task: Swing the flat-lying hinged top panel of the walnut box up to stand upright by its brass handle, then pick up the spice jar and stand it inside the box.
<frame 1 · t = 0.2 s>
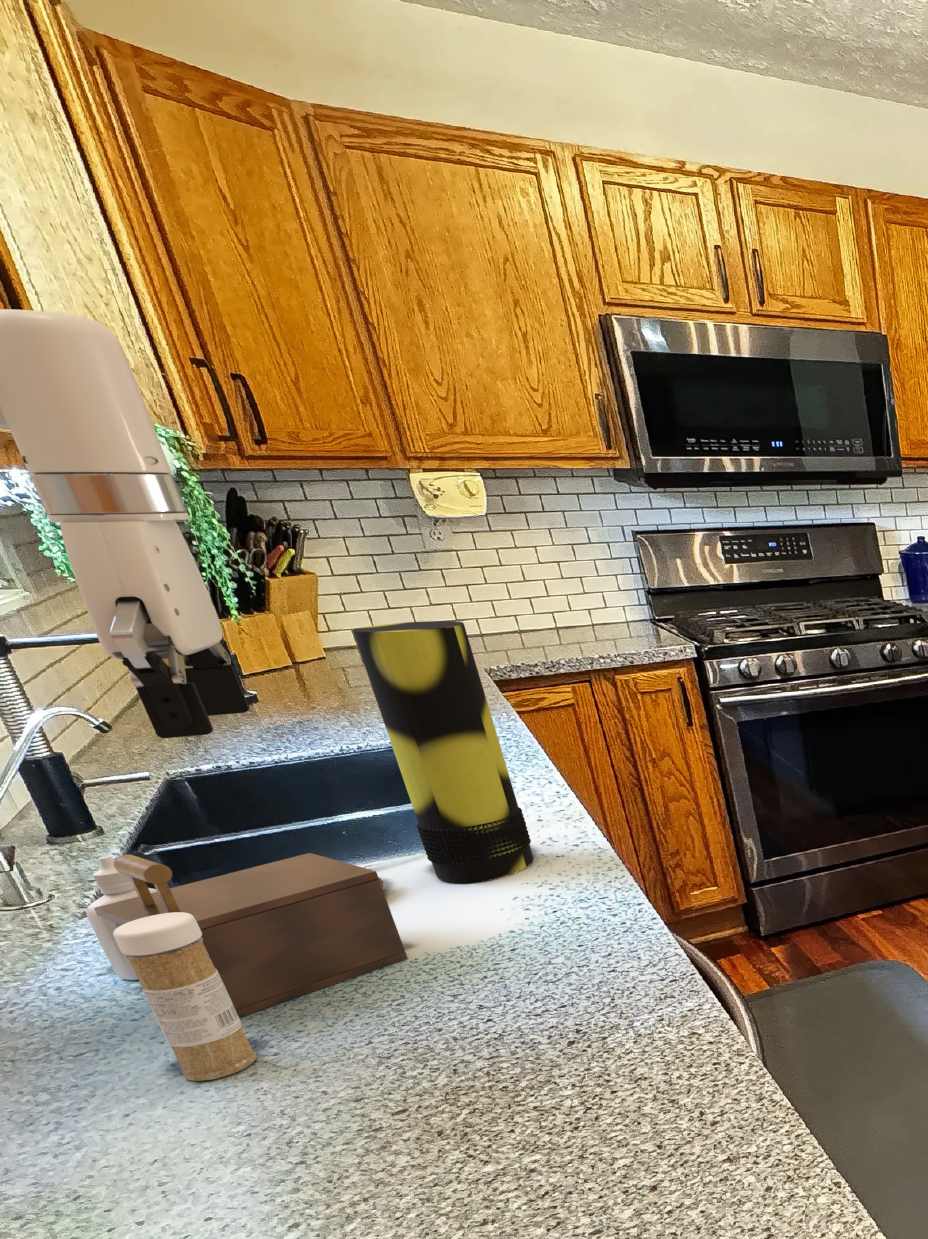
hand: (207, 724, 82), 27 cm above the countertop, tool pointing down, fingers open, 9 cm apart
lid: (332, 906, 115), on the countertop
eye dropper bottle: (158, 970, 100), on the countertop
walnut box: (284, 977, 98), on the countertop
walnut panel: (232, 868, 93), point 12 cm above the countertop, hinge at 0.0°
spice jar: (223, 1070, 82), on the countertop
container: (487, 870, 126), on the countertop
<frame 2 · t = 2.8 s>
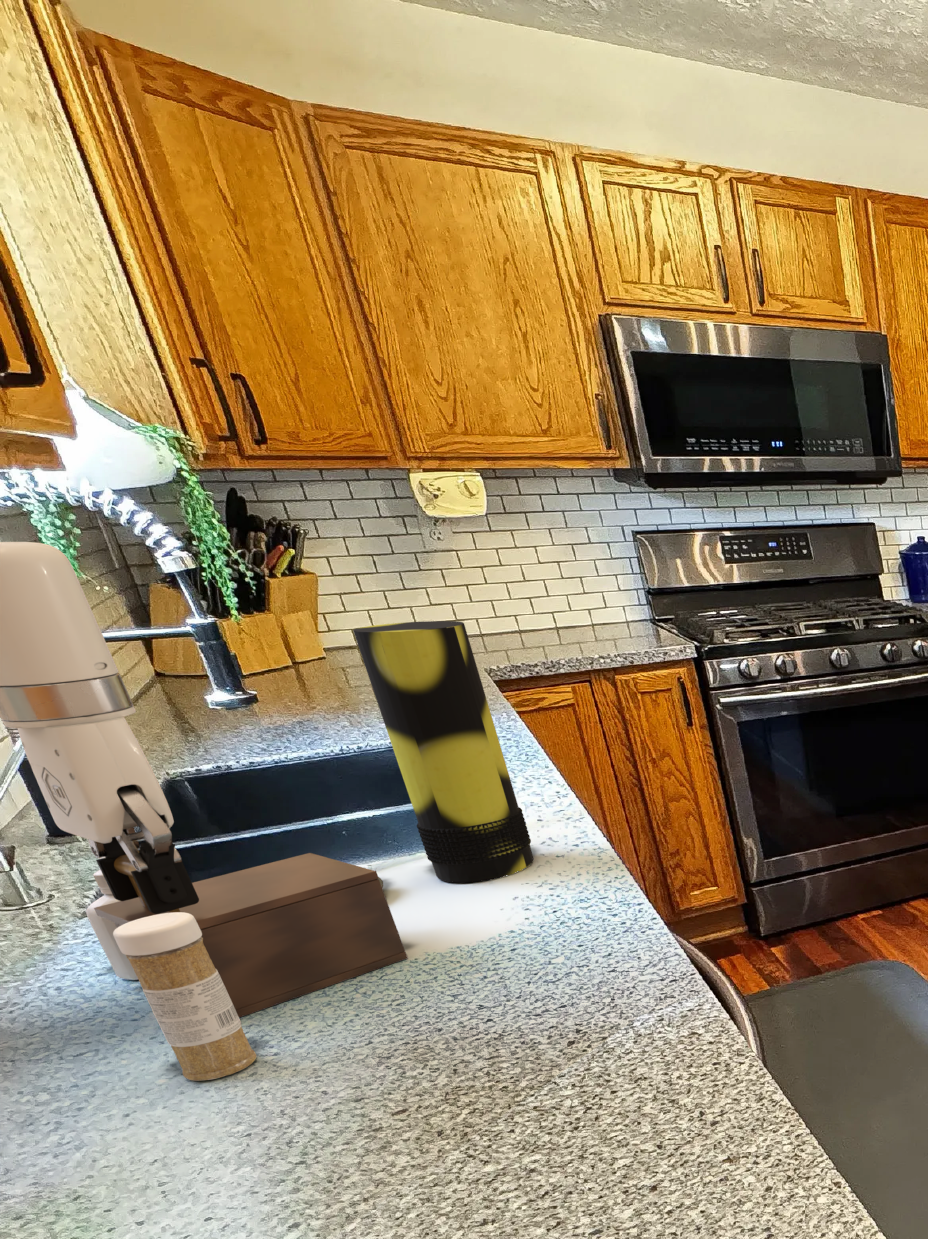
hand: (157, 900, 89), 11 cm above the countertop, tool pointing down, fingers closed on walnut panel, 6 cm apart
walnut panel: (232, 868, 93), point 12 cm above the countertop, hinge at 0.0°, touching gripper
everything else where it was.
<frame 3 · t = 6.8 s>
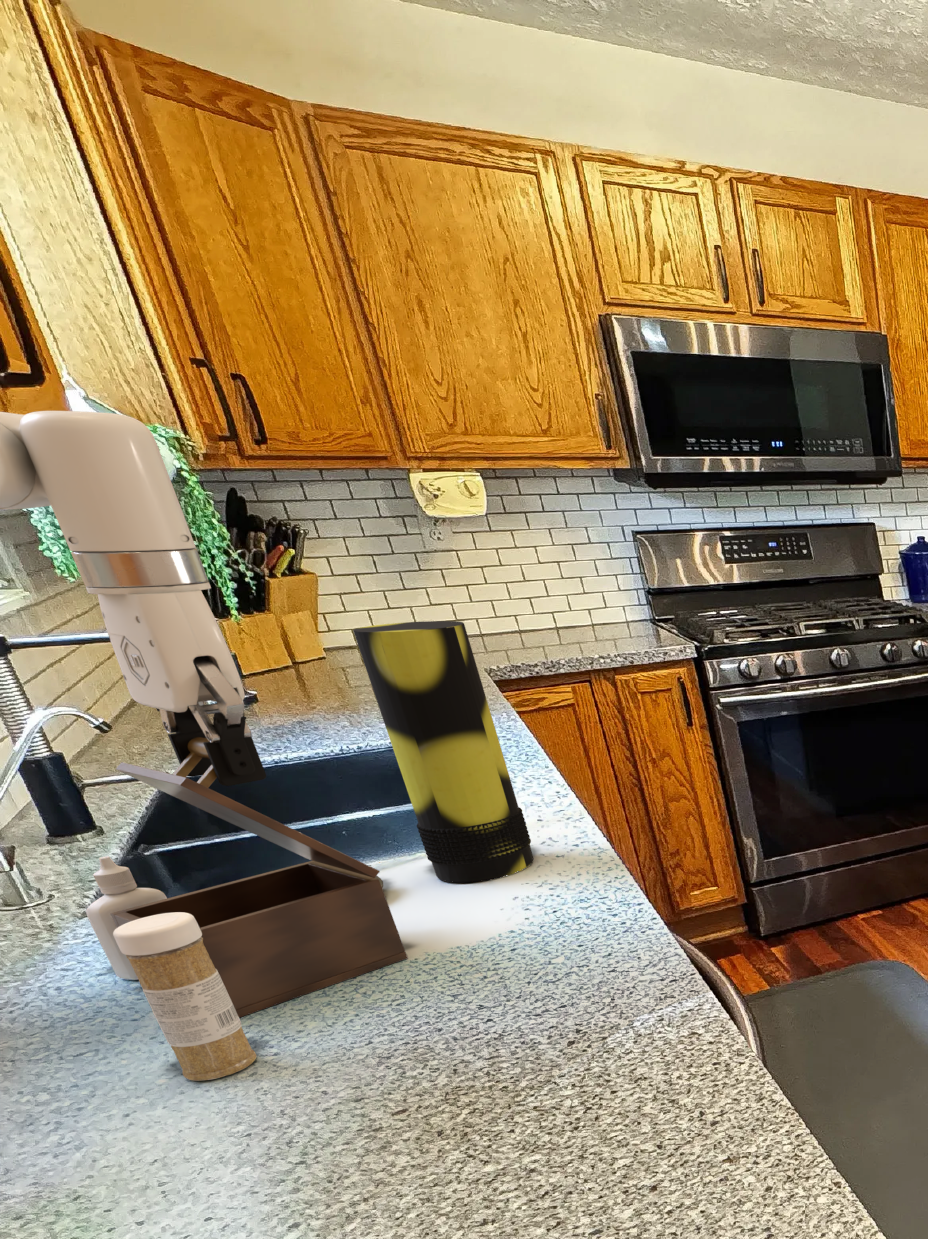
hand: (225, 775, 91), 20 cm above the countertop, tool pointing down, fingers closed on walnut panel, 6 cm apart
walnut panel: (270, 801, 95), point 17 cm above the countertop, hinge at 48.7°, touching gripper
everything else where it was.
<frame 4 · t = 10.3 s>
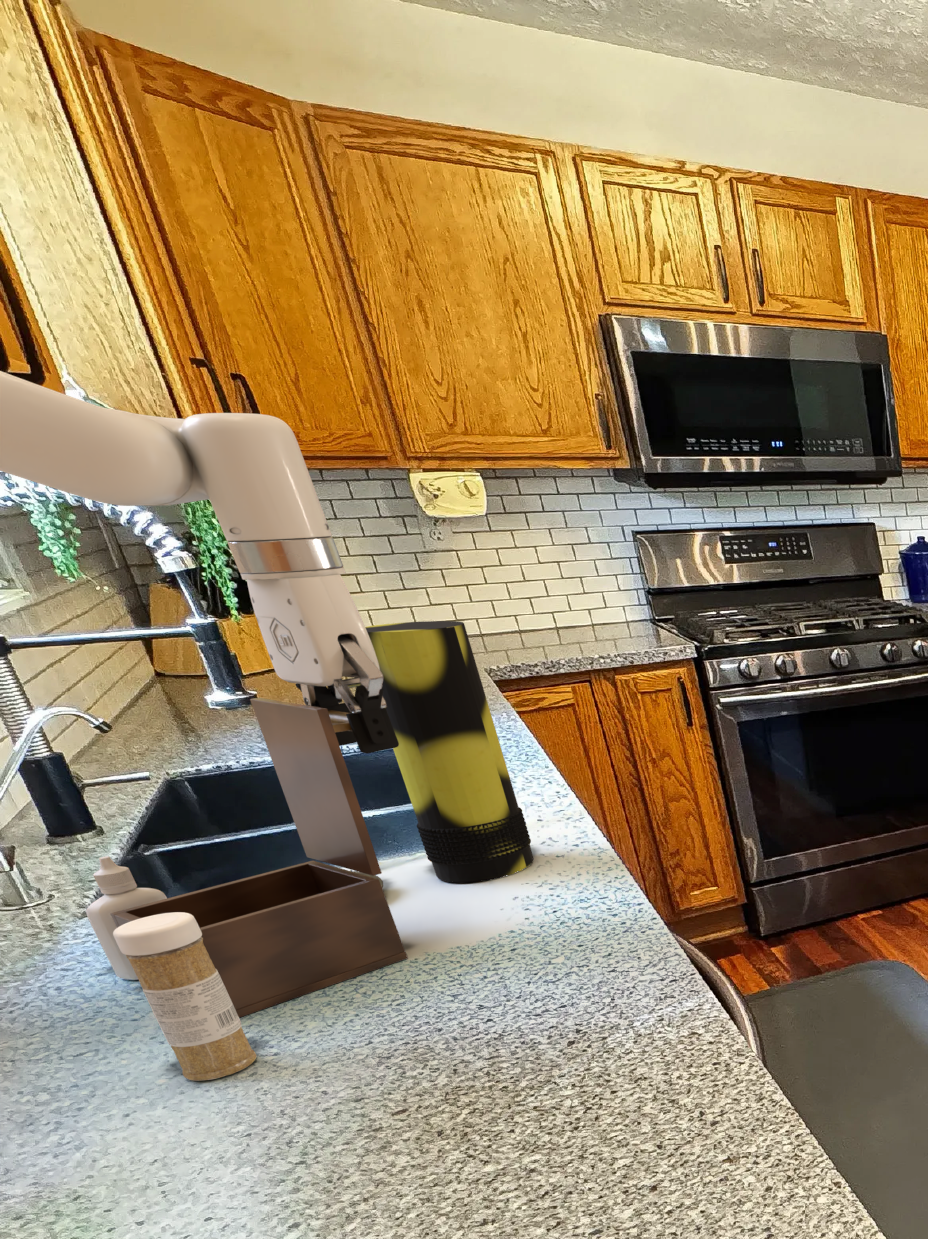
hand: (361, 745, 100), 21 cm above the countertop, tool pointing down, fingers closed on walnut panel, 6 cm apart
walnut panel: (345, 781, 100), point 17 cm above the countertop, hinge at 91.4°, touching gripper
everything else where it was.
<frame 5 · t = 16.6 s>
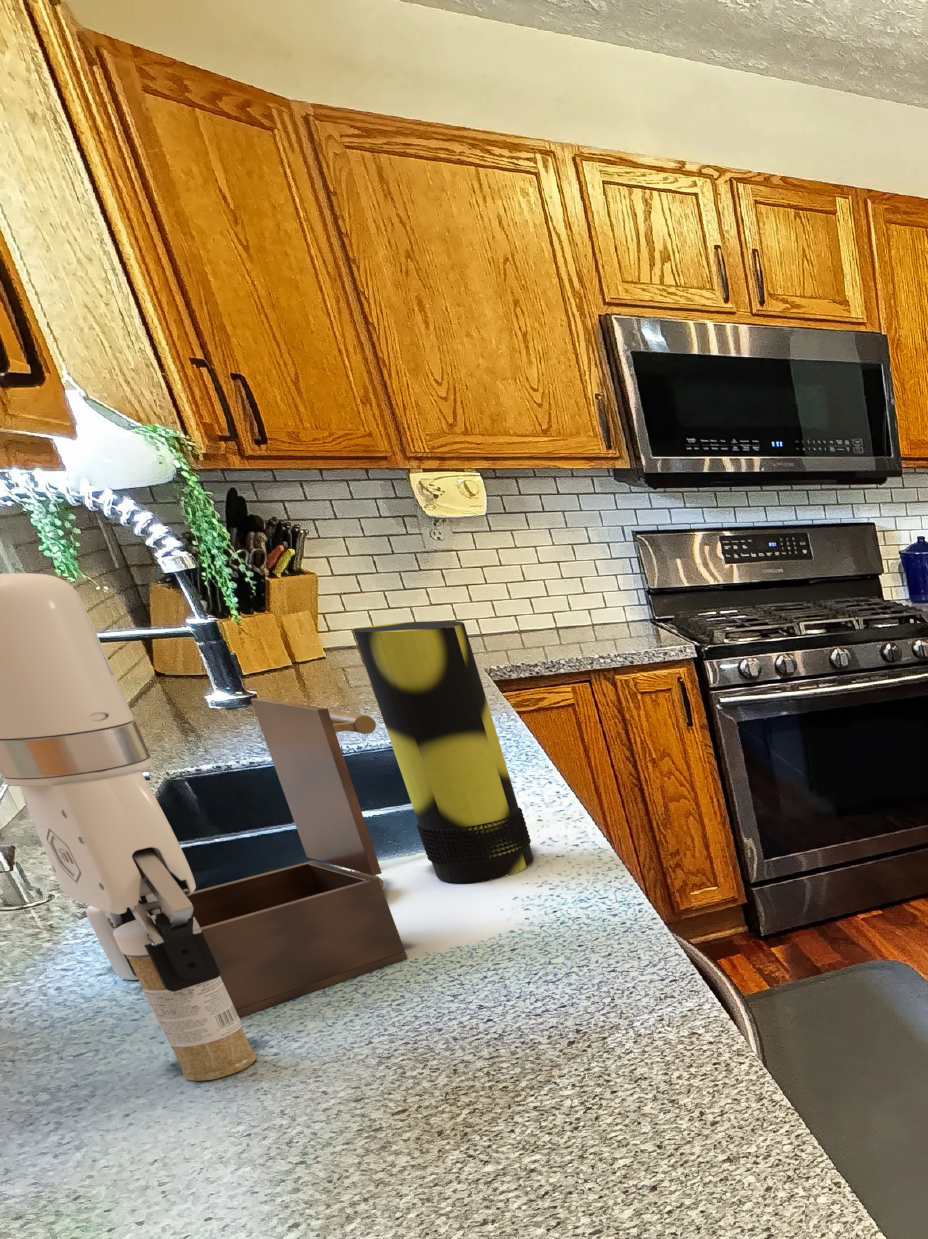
hand: (177, 975, 79), 9 cm above the countertop, tool pointing down, fingers closed on spice jar, 4 cm apart
walnut panel: (345, 781, 100), point 17 cm above the countertop, hinge at 91.5°
spice jar: (223, 1070, 82), on the countertop, touching gripper
everything else where it was.
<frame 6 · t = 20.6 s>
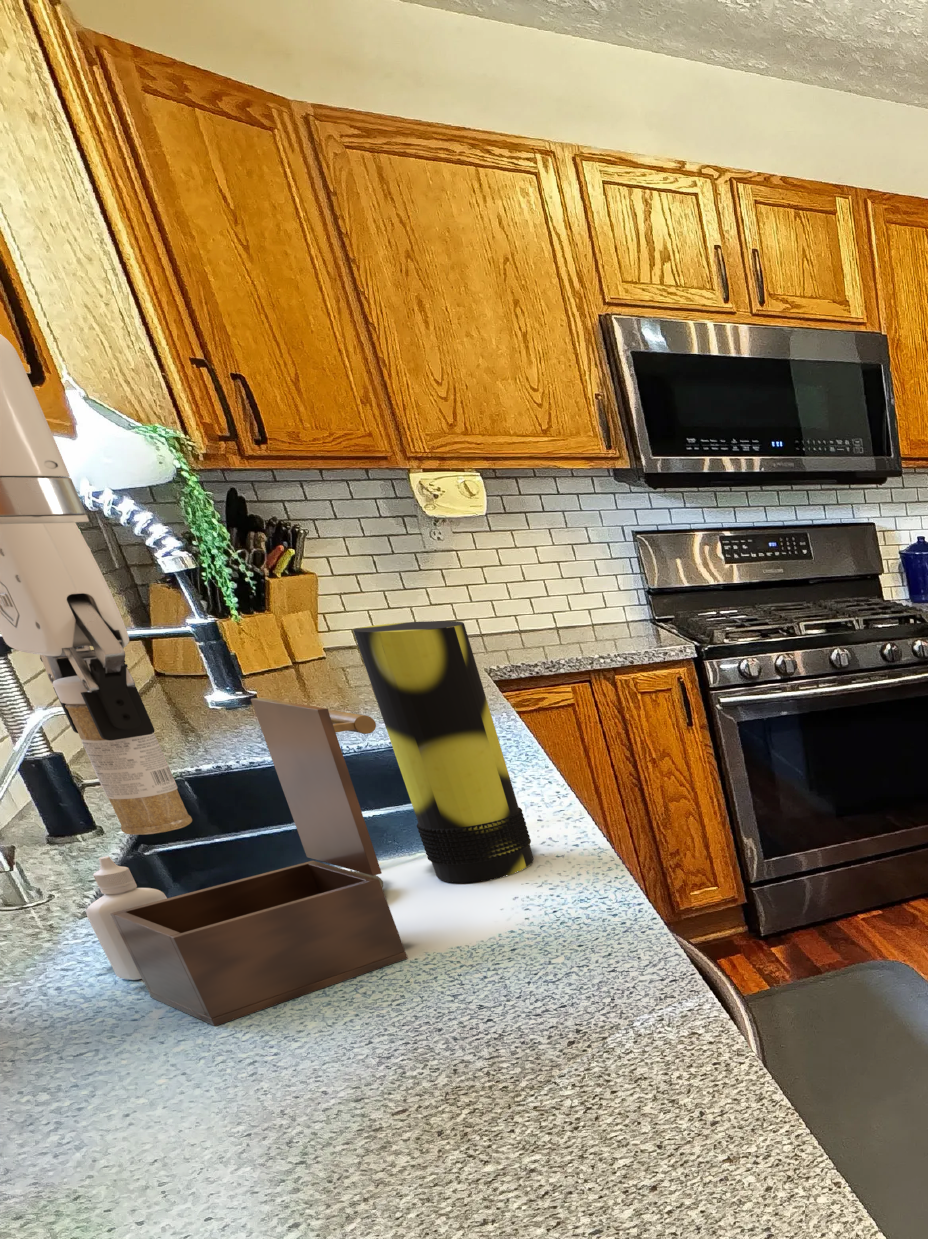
hand: (114, 731, 84), 25 cm above the countertop, tool pointing down, fingers closed on spice jar, 4 cm apart
spice jar: (160, 831, 88), point 17 cm above the countertop, touching gripper
everything else where it was.
when the fingers open (10 cm above the countertop, at t = 24.4 s): spice jar stays where it is, resting on walnut box.
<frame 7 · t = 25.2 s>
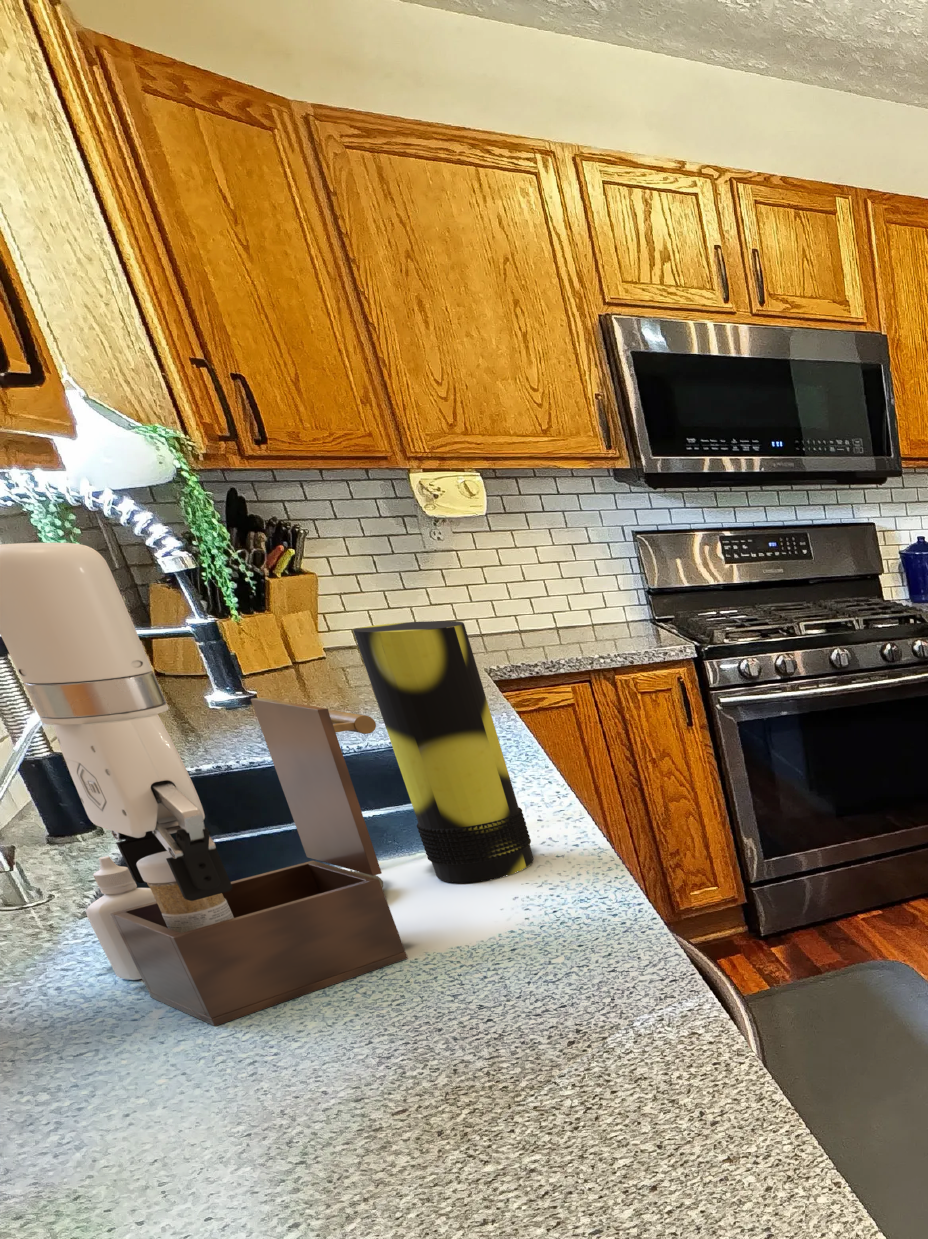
hand: (184, 886, 90), 11 cm above the countertop, tool pointing down, fingers open, 9 cm apart
spice jar: (231, 988, 94), point 1 cm above the countertop, touching walnut box
everything else where it was.
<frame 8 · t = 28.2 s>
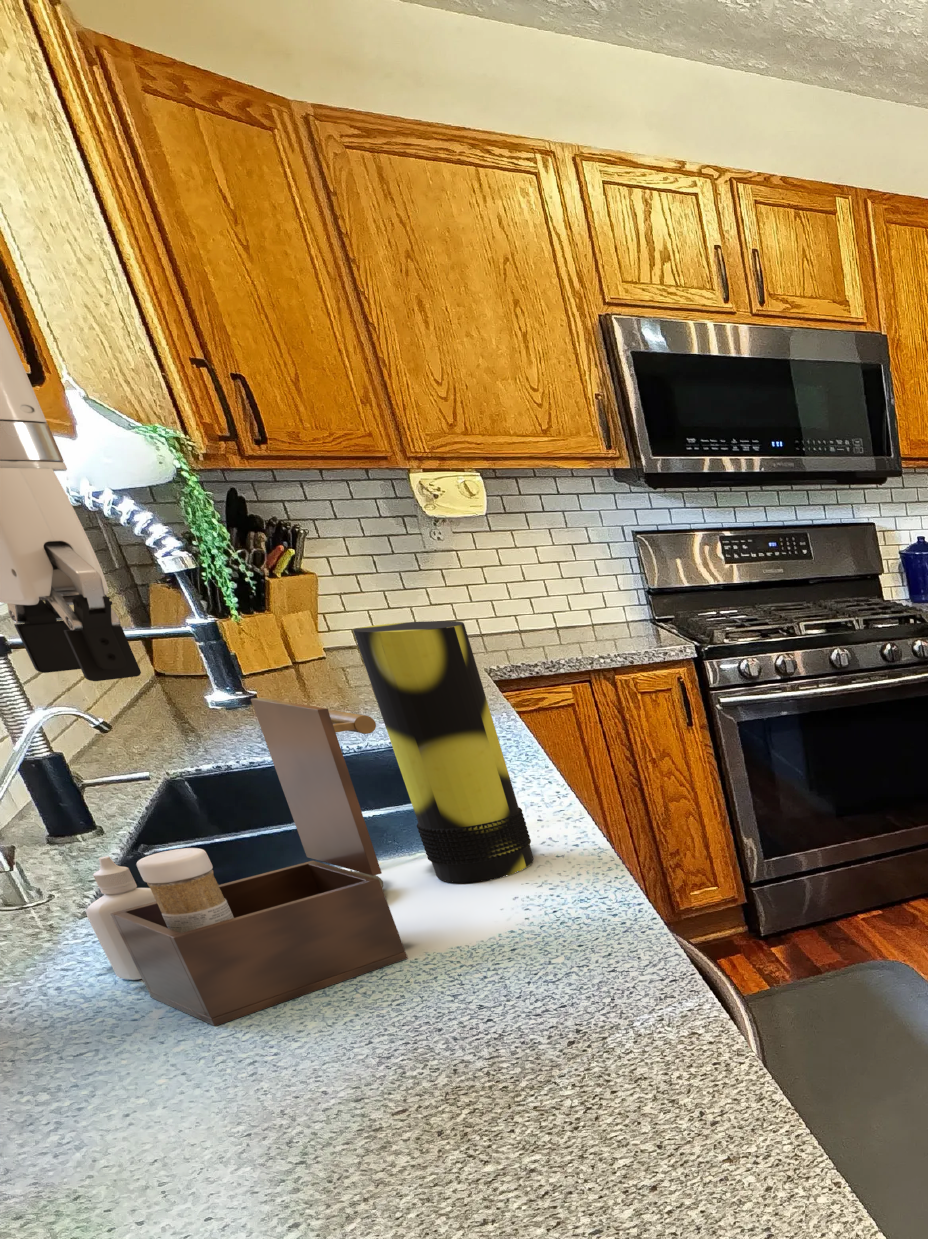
hand: (89, 674, 83), 30 cm above the countertop, tool pointing down, fingers open, 9 cm apart
nothing on the countertop moved.
at the end: walnut panel at +92° (first picture: +0°); spice jar inside the target area in the walnut box (4.0 cm from its centre), point 0.6 cm above the walnut box's base; spice jar tilted 0° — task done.
